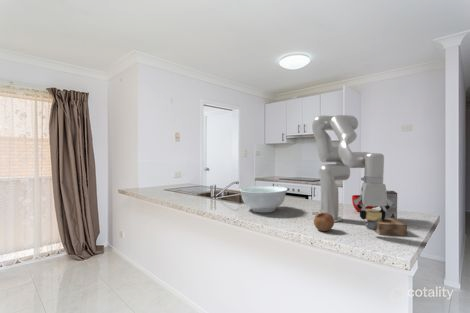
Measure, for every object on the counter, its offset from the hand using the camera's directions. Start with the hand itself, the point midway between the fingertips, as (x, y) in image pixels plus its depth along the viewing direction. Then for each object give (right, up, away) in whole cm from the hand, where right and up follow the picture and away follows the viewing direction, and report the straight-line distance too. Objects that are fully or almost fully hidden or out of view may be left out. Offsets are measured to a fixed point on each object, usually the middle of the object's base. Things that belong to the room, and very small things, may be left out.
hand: (372, 218), depth 115 cm
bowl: (-43, -8, +55) cm, 70 cm away
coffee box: (+26, -8, +30) cm, 41 cm away
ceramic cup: (+22, -8, +48) cm, 53 cm away
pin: (0, -4, 0) cm, 4 cm away
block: (+11, -8, +8) cm, 16 cm away
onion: (-19, -8, +10) cm, 22 cm away
